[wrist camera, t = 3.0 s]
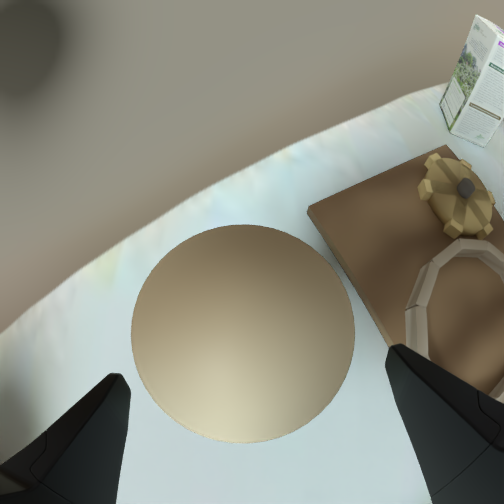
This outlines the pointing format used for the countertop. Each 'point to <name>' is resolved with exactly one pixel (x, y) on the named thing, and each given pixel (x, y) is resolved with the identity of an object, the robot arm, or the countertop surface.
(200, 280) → the gear
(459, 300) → the gear board
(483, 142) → the syrup box
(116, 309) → the countertop surface
